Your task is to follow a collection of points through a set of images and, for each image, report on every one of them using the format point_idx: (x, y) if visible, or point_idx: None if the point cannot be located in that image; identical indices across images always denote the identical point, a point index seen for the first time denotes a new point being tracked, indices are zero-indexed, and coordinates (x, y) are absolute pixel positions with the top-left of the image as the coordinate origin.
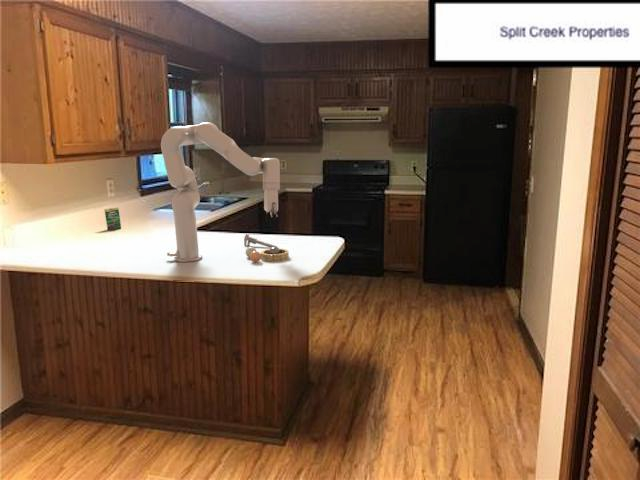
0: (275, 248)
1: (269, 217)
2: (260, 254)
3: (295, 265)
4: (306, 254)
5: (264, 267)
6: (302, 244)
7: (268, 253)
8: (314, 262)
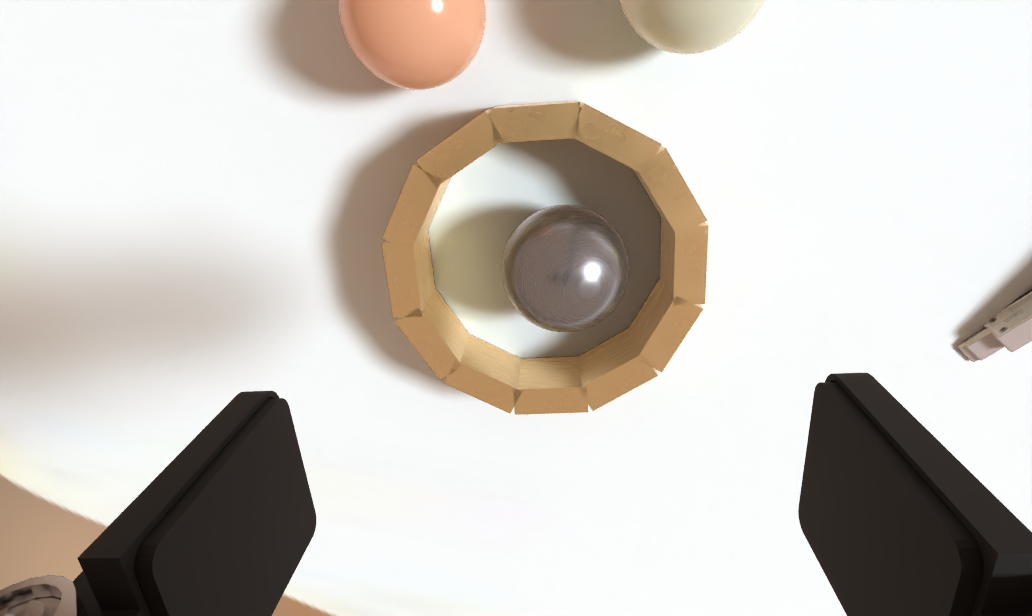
0: (531, 298)
1: (869, 533)
2: (400, 83)
3: (223, 385)
4: (589, 536)
5: (183, 97)
6: None
7: (658, 207)
8: None
